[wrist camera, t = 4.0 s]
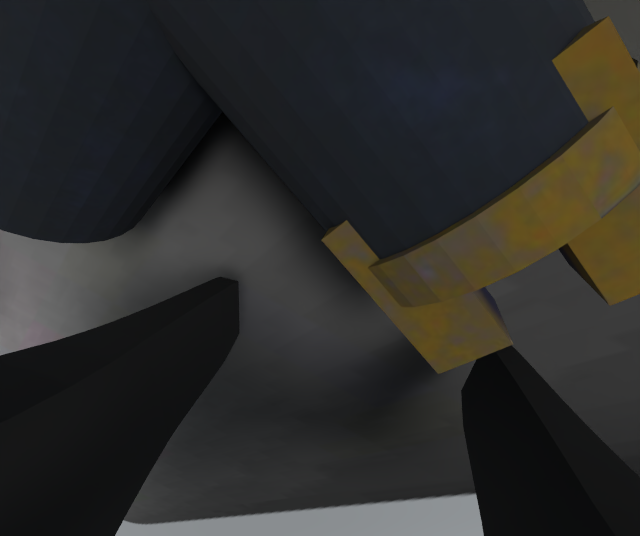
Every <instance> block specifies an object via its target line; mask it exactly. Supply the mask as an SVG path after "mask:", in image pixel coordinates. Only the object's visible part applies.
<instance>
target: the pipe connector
mask: <svg viewBox="0 0 640 536" xmlns="http://www.w3.org/2000/svg"><path fill="white" fill-rule="evenodd" d="M222 112H224V114H225V115H226V116H227V117H228V118H229V119H230V121H231V122H232V123H233V124H234V125H235V126H236V127H237V129H238V130H239V131H240V132H241V133H242V134H243V136H244V137H245V138H246V139H247V140H248V141H249V143H250V144H251V145H252V146H253V147H254V148H255V149H256V151H257V152H258V153H259V154H260V155H261V156H262V158H263V159H264V160H265V161H266V162H267V163H268V165H269V166H270V167H271V168H272V169H273V170H274V172H275V173H276V174H277V175H278V176H279V177H280V178H281V180H282V181H283V182H284V183H285V184H286V185H287V187H288V188H289V189H290V190H291V191H292V192H293V194H294V195H295V196H296V197H297V198H298V199H299V200H300V202H301V203H302V204H303V205H304V206H305V207H306V209H307V210H308V211H309V212H310V213H311V214H312V216H313V217H314V218H315V219H316V220H317V221H318V223H319V224H320V225H321V226H322V227H323V228H324V229H325V231H326V234H325V235H324V237H323V238H322V241H323V242H324V244H325V245H326V246H327V247H328V248H329V249H330V250H331V252H332V253H333V254H334V255H335V256H336V257H337V259H338V260H339V261H340V262H341V263H342V264H343V265H344V267H345V268H346V269H347V270H348V271H349V272H350V273H351V275H352V276H353V277H354V278H355V279H356V280H357V281H358V283H359V284H360V285H361V286H362V287H363V288H364V289H365V291H366V292H367V293H368V294H369V295H370V296H371V297H372V299H373V300H374V301H375V302H376V303H377V304H378V306H379V307H380V308H381V309H382V310H383V311H384V312H385V314H386V315H387V316H388V317H389V318H390V319H391V320H392V322H393V323H394V324H395V325H396V326H397V327H398V328H399V330H400V331H401V332H402V333H403V334H404V335H405V336H406V338H407V339H408V340H409V341H410V342H411V343H412V344H413V346H414V347H415V348H416V349H417V350H418V351H419V353H420V354H421V355H422V356H423V357H424V358H425V359H426V361H427V362H428V363H429V364H430V365H431V366H432V367H433V369H434V370H435V371H436V372H437V373H438V374H441V373H443V372H446V371H448V370H451V369H453V368H456V367H458V366H461V365H463V364H466V363H468V362H471V361H473V360H476V359H478V358H481V357H483V356H486V355H488V354H491V353H493V352H496V351H498V350H501V349H503V348H506V347H508V346H511V345H513V342H512V340H511V337H510V335H509V333H508V330H507V328H506V326H505V323H504V321H503V319H502V316H501V314H500V311H499V309H498V307H497V304H496V302H495V300H494V298H493V297H492V296H491V294H490V293H489V292H488V291H487V289H486V288H485V286H487V285H490V284H492V283H494V282H496V281H499V280H501V279H503V278H505V277H507V276H510V275H512V274H514V273H516V272H518V271H520V270H522V269H524V268H525V267H527V266H529V265H531V264H532V263H534V262H536V261H538V260H539V259H541V258H543V257H545V256H547V255H548V254H550V253H552V252H554V251H555V250H557V249H559V250H560V252H561V253H562V255H563V256H564V258H565V259H566V261H567V262H568V263H569V265H570V266H571V267H572V268H573V269H574V270H575V271H576V272H577V273H578V274H579V275H580V276H581V277H582V278H583V279H584V280H585V281H586V282H587V283H588V284H589V285H590V286H591V287H592V288H593V289H594V290H595V291H596V292H597V293H598V294H599V295H600V296H601V297H602V298H603V299H604V300H605V301H606V302H607V303H608V304H609V305H610V306H611V305H613V304H616V303H618V302H621V301H623V300H626V299H628V298H631V297H633V296H636V295H638V294H640V64H639V62H638V61H637V60H635V59H633V58H631V56H630V54H629V52H628V50H627V49H626V47H625V45H624V43H623V41H622V39H621V38H620V36H619V34H618V32H617V30H616V28H615V27H614V25H613V23H612V21H611V19H610V17H609V16H608V17H606V18H603V19H601V20H599V21H597V22H595V21H594V20H593V18H592V16H591V14H590V12H589V11H588V9H587V7H586V5H585V3H584V2H583V0H0V229H1V230H3V231H7V232H10V233H14V234H18V235H21V236H25V237H29V238H32V239H38V240H45V241H52V242H59V243H90V242H97V241H105V240H108V239H111V238H114V237H117V236H120V235H122V234H124V233H125V232H127V231H129V230H130V229H132V228H133V227H134V226H135V225H136V224H137V223H138V222H139V221H140V220H141V219H142V217H143V216H144V215H145V213H146V212H147V211H148V209H149V208H150V207H151V205H152V204H153V203H154V201H155V200H156V199H157V197H158V196H159V195H160V194H161V192H162V191H163V190H164V188H165V187H166V186H167V184H168V183H169V182H170V180H171V179H172V178H173V176H174V175H175V174H176V172H177V171H178V170H179V168H180V167H181V166H182V164H183V163H184V162H185V161H186V159H187V158H188V157H189V155H190V154H191V153H192V151H193V150H194V149H195V147H196V146H197V145H198V143H199V142H200V141H201V139H202V138H203V137H204V135H205V134H206V133H207V131H208V130H209V129H210V127H211V126H212V125H213V124H214V122H215V121H216V120H217V118H218V117H219V116H220V114H221V113H222Z"/></svg>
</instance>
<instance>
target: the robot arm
mask: <svg viewBox="0 0 640 536" xmlns="http://www.w3.org/2000/svg"><path fill="white" fill-rule="evenodd" d="M238 335H239V293H238V281H235V280H230V279H226V278H222V277H219V278H216V279H213V280H211V281H208V282H206V283H204V284H201V285H199V286H197V287H194V288H192V289H190V290H188V291H185V292H183V293H181V294H179V295H176V296H174V297H172V298H170V299H167V300H165V301H163V302H160V303H158V304H156V305H154V306H151V307H149V308H146V309H144V310H141V311H139V312H136V313H134V314H131V315H129V316H126V317H124V318H121V319H119V320H116V321H113V322H111V323H108V324H105V325H103V326H100V327H97V328H94V329H91V330H88V331H85V332H82V333H79V334H76V335H72V336H69V337H66V338H63V339H60V340H56V341H53V342H49V343H46V344H42V345H38V346H34V347H31V348H27V349H23V350H20V351H16V352H12V353H8V354H5V355H1V356H0V536H115V534H116V532H117V531H118V529H119V527H120V525H121V523H122V521H123V519H124V517H125V516H126V514H127V512H128V510H129V508H130V507H131V505H132V503H133V501H134V499H135V498H136V496H137V494H138V492H139V491H140V489H141V487H142V485H143V483H144V482H145V480H146V478H147V476H148V475H149V473H150V471H151V469H152V468H153V466H154V464H155V463H156V461H157V459H158V457H159V456H160V454H161V452H162V451H163V449H164V447H165V446H166V444H167V442H168V441H169V439H170V437H171V436H172V434H173V433H174V431H175V430H176V428H177V427H178V425H179V424H180V423H181V421H182V420H183V418H184V417H185V416H186V414H187V413H188V411H189V410H190V409H191V407H192V406H193V404H194V403H195V402H196V400H197V399H198V398H199V396H200V395H201V393H202V392H203V391H204V389H205V388H206V386H207V385H208V384H209V382H210V381H211V379H212V378H213V377H214V375H215V374H216V372H217V371H218V370H219V368H220V367H221V365H222V364H223V362H224V361H225V359H226V357H227V355H228V354H229V352H230V350H231V348H232V346H233V344H234V342H235V340H236V339H237V337H238ZM461 393H462V413H463V426H464V432H465V438H466V443H467V449H468V454H469V459H470V464H471V469H472V474H473V479H474V485H475V490H476V495H477V499H478V505H479V509H480V515H481V520H482V526H483V532H484V536H640V477H639V476H638V475H637V474H636V473H635V472H634V471H633V470H631V469H630V468H629V467H628V466H627V465H626V464H625V463H624V462H623V461H622V460H621V459H620V458H619V457H618V456H617V455H616V454H615V453H614V452H613V451H612V450H611V449H610V448H609V447H608V446H607V445H606V444H605V443H604V442H603V441H602V440H601V439H600V438H599V437H598V436H597V435H596V434H595V433H594V432H593V431H592V430H591V429H590V428H589V427H588V426H587V425H586V424H585V423H584V422H583V421H582V420H581V419H580V418H579V417H578V416H577V415H576V414H575V413H574V412H573V410H572V409H571V408H570V407H569V406H568V405H567V404H566V403H565V402H564V401H563V400H562V399H561V398H560V397H559V396H558V394H557V393H556V392H555V391H554V390H553V389H552V388H551V387H550V386H549V385H548V384H547V383H546V381H545V380H544V379H543V378H542V377H541V376H540V375H539V374H538V373H537V372H536V371H535V369H534V368H533V367H532V366H531V365H530V364H529V363H528V362H527V361H526V360H525V359H524V358H523V357H522V356H521V355H520V353H519V352H518V351H517V350H516V349H515V348H513V347H512V346H508V347H506V348H503V349H501V350H498V351H496V352H493V353H491V354H488V355H486V356H483V357H481V358H478V359H477V360H476V362H475V364H474V366H473V368H472V370H471V372H470V374H469V376H468V378H467V380H466V382H465V384H464V386H463V388H462V390H461Z"/></svg>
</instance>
